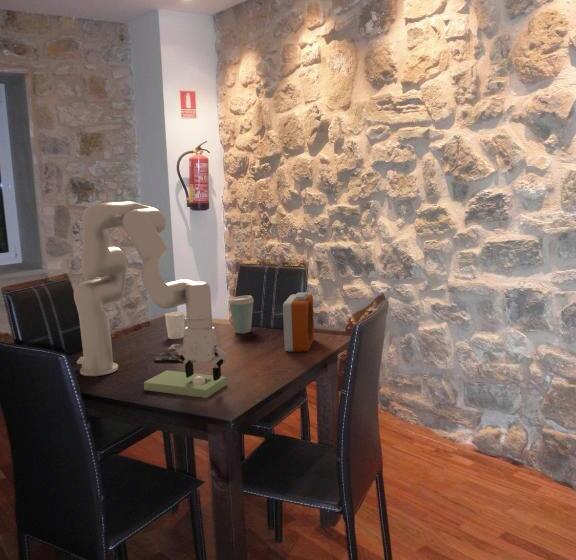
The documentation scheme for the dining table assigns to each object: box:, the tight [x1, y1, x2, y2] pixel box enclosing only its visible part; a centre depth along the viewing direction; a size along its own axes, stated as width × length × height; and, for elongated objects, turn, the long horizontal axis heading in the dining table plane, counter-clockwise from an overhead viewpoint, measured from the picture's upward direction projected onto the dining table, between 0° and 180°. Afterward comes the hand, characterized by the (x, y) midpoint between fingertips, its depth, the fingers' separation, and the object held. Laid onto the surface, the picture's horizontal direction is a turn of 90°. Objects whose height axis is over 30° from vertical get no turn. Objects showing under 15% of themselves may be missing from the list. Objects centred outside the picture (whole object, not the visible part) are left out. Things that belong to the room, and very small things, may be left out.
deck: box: [143, 369, 228, 399], centre depth 182 cm, size 22×12×2 cm, turn 66°
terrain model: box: [153, 343, 197, 364], centre depth 218 cm, size 20×15×3 cm
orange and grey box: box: [282, 292, 315, 353], centre depth 221 cm, size 18×9×21 cm, turn 170°
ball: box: [192, 376, 206, 385], centre depth 179 cm, size 4×4×4 cm
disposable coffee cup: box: [228, 295, 255, 334], centre depth 247 cm, size 11×11×15 cm
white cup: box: [164, 311, 186, 340], centre depth 243 cm, size 8×8×10 cm
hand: (203, 377), depth 179 cm, fingers open, 9 cm apart
